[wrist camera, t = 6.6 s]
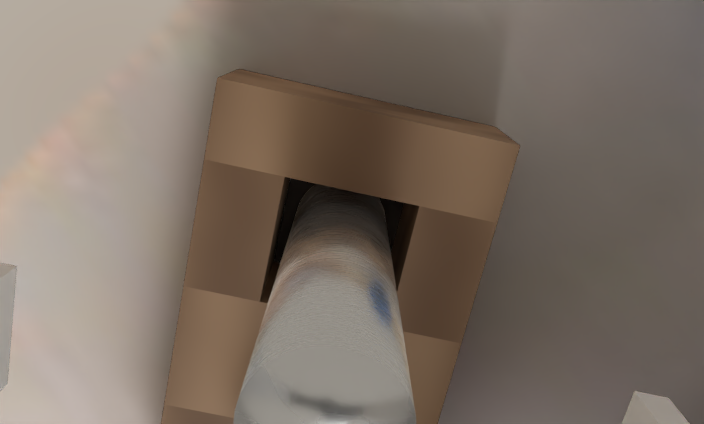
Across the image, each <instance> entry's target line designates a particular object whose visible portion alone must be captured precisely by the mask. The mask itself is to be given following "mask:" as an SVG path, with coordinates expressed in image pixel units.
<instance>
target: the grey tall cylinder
mask: <svg viewBox="0 0 704 424" xmlns="http://www.w3.org/2000/svg"><path fill="white" fill-rule="evenodd" d="M233 423H234V424H417V423H416V413H415V407H414V400H413V394H412V387H411V381H410V374H409V368H408V361H407V355H406V348H405V342H404V335H403V329H402V322H401V316H400V309H399V303H398V296H397V290H396V283H395V277H394V270H393V264H392V257H391V251H390V244H389V238H388V231H387V225H386V218H385V212H384V208H383V205H382V203H381V201H380V199H379V197H375V196H371V195H366V194H361V193H357V192H352V191H348V190H343V189H338V188H334V187H329V186H325V185H320V184H315V185H314V186H312V187H311V188H310V189H309V190H308V191H307V192H306V193H305V194H304V196H303V197H302V199H301V200H300V203H299V205H298V208H297V211H296V214H295V217H294V221H293V224H292V227H291V230H290V233H289V237H288V240H287V243H286V246H285V250H284V253H283V256H282V259H281V262H280V266H279V269H278V272H277V275H276V279H275V282H274V285H273V288H272V291H271V295H270V298H269V301H268V304H267V308H266V311H265V314H264V317H263V320H262V324H261V327H260V330H259V333H258V336H257V340H256V343H255V346H254V349H253V353H252V356H251V359H250V362H249V365H248V369H247V372H246V375H245V378H244V382H243V385H242V388H241V391H240V394H239V398H238V401H237V404H236V408H235V413H234V421H233Z"/></svg>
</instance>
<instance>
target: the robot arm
mask: <svg viewBox="0 0 704 424" xmlns="http://www.w3.org/2000/svg"><path fill="white" fill-rule="evenodd" d="M16 270H17V266H14V265H9V264H4V263H0V391H1V390H2V389H3V388H4V387H5V386H6V385H7V383H8V371H9V358H10V346H11V333H12V321H13V308H14V295H15V283H16ZM622 424H690V423H689V422H688V421H687V420H686V419H685V417H684V416H683V415H682V414H681V412H680V411H679V410H678V409H677V408H676V406H675V405H674V404H673V403H672V401H671V400H670V399H669V398H668V397H663V396H658V395H653V394H648V393H643V392H638V391H634V393H633V396H632V398H631V401H630V403H629V406H628V409H627V411H626V414H625V416H624V419H623V421H622Z"/></svg>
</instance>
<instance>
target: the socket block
mask: <svg viewBox="0 0 704 424" xmlns="http://www.w3.org/2000/svg"><path fill="white" fill-rule="evenodd" d="M519 148H520V145H519V144H517V143H516V142H515V141H513V140H512V139H511V138H509V137H508V136H507V135H505V134H504V133H503V132H501V131H500V130H499V129H497V128H496V127H494V126H489V125H485V124H480V123H476V122H471V121H467V120H463V119H458V118H454V117H449V116H445V115H440V114H436V113H432V112H427V111H423V110H418V109H414V108H409V107H405V106H401V105H396V104H392V103H387V102H383V101H378V100H374V99H370V98H365V97H361V96H356V95H352V94H347V93H343V92H339V91H334V90H330V89H325V88H321V87H316V86H312V85H308V84H303V83H299V82H294V81H290V80H285V79H281V78H277V77H272V76H268V75H263V74H259V73H254V72H250V71H246V70H241V69H238V70H235V71H233V72H230V73H228V74H225V75H223V76H220V77H218V78H217V83H216V89H215V95H214V101H213V107H212V113H211V120H210V126H209V132H208V138H207V144H206V150H205V156H204V163H203V169H202V175H201V181H200V187H199V193H198V199H197V206H196V212H195V218H194V224H193V230H192V236H191V242H190V249H189V255H188V261H187V267H186V273H185V279H184V285H183V292H182V298H181V304H180V310H179V316H178V322H177V328H176V335H175V341H174V347H173V353H172V359H171V365H170V372H169V378H168V384H167V390H166V396H165V402H164V408H163V415H162V421H161V424H234V423H233V421H234V413H235V408H236V404H237V401H238V398H239V394H240V391H241V388H242V385H243V382H244V378H245V375H246V372H247V369H248V365H249V362H250V359H251V356H252V353H253V349H254V346H255V343H256V340H257V336H258V333H259V330H260V327H261V324H262V320H263V317H264V314H265V311H266V308H267V304H268V301H269V298H270V295H271V291H272V288H273V285H274V282H275V279H276V275H277V272H278V269H279V266H280V263H277V262H274V257H275V252H276V247H277V242H278V237H279V232H280V227H281V222H282V217H283V212H284V207H285V202H286V197H287V192H288V187H289V183H290V178H292V179H297V180H302V181H306V182H311V183H315V184H320V185H325V186H329V187H334V188H338V189H343V190H348V191H352V192H357V193H361V194H366V195H371V196H375V197H380V198H384V199H389V200H394V201H398V202H403V203H404V205H403V208H402V212H401V216H400V220H399V224H398V228H397V232H396V236H395V240H394V244H393V248H392V252H391V257H392V264H393V270H394V277H395V283H396V290H397V296H398V303H399V309H400V316H401V322H402V329H403V335H404V342H405V348H406V355H407V361H408V368H409V374H410V381H411V387H412V394H413V400H414V407H415V413H416V423H417V424H438V420H439V417H440V413H441V410H442V407H443V403H444V400H445V397H446V393H447V390H448V387H449V383H450V380H451V377H452V373H453V370H454V366H455V363H456V360H457V356H458V353H459V350H460V346H461V343H462V340H463V336H464V333H465V330H466V326H467V323H468V320H469V316H470V313H471V309H472V306H473V303H474V299H475V296H476V293H477V289H478V286H479V283H480V279H481V276H482V273H483V269H484V266H485V262H486V259H487V256H488V252H489V249H490V246H491V242H492V239H493V236H494V232H495V229H496V226H497V222H498V219H499V215H500V212H501V209H502V205H503V202H504V199H505V195H506V192H507V189H508V185H509V182H510V179H511V175H512V172H513V169H514V165H515V162H516V158H517V155H518V152H519Z"/></svg>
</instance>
